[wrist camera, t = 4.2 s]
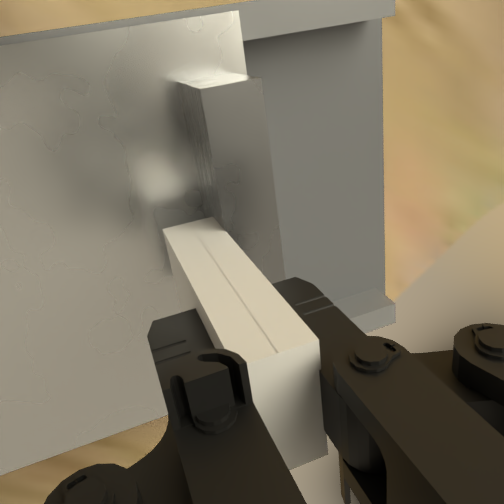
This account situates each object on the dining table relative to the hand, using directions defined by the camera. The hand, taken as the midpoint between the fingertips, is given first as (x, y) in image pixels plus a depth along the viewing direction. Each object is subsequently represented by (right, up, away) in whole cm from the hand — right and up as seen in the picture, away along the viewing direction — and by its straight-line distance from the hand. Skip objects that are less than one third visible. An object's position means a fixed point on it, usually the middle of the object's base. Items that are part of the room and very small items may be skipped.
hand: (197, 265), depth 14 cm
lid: (-4, 0, +1) cm, 4 cm away
